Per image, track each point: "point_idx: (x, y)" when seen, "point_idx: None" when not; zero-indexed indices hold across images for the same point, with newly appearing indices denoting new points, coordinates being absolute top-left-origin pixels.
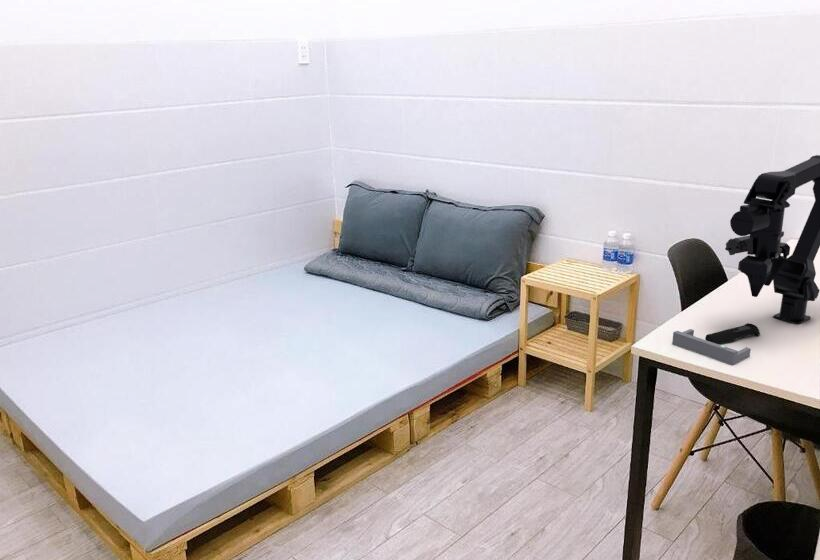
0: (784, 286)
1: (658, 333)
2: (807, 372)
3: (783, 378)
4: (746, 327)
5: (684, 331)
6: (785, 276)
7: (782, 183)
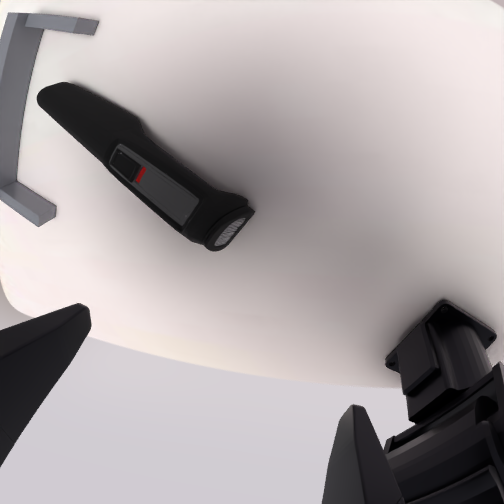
0: (429, 440)
1: None
2: None
3: (22, 277)
4: (178, 208)
5: (53, 15)
6: (438, 487)
7: None
